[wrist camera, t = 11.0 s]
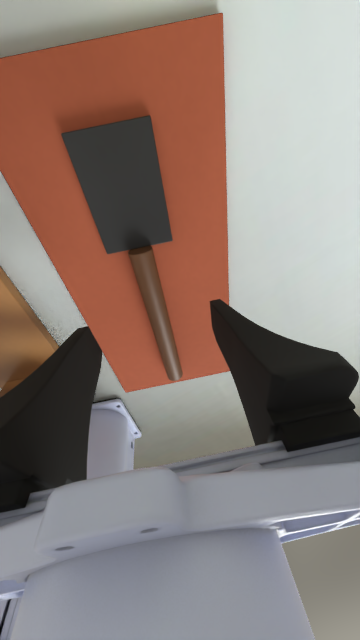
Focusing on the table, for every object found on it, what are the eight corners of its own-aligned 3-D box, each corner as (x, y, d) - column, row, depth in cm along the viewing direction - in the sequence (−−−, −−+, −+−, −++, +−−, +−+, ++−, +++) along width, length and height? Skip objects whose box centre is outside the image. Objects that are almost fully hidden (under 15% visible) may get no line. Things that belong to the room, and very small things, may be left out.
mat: (229, 368, 24) (230, 371, 23) (125, 389, 24) (125, 392, 23) (220, 17, 9) (223, 12, 9) (-51, 72, 9) (-58, 69, 9)
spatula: (194, 364, 22) (197, 376, 21) (153, 372, 22) (154, 385, 21) (150, 116, 10) (150, 110, 9) (63, 134, 10) (51, 130, 9)
